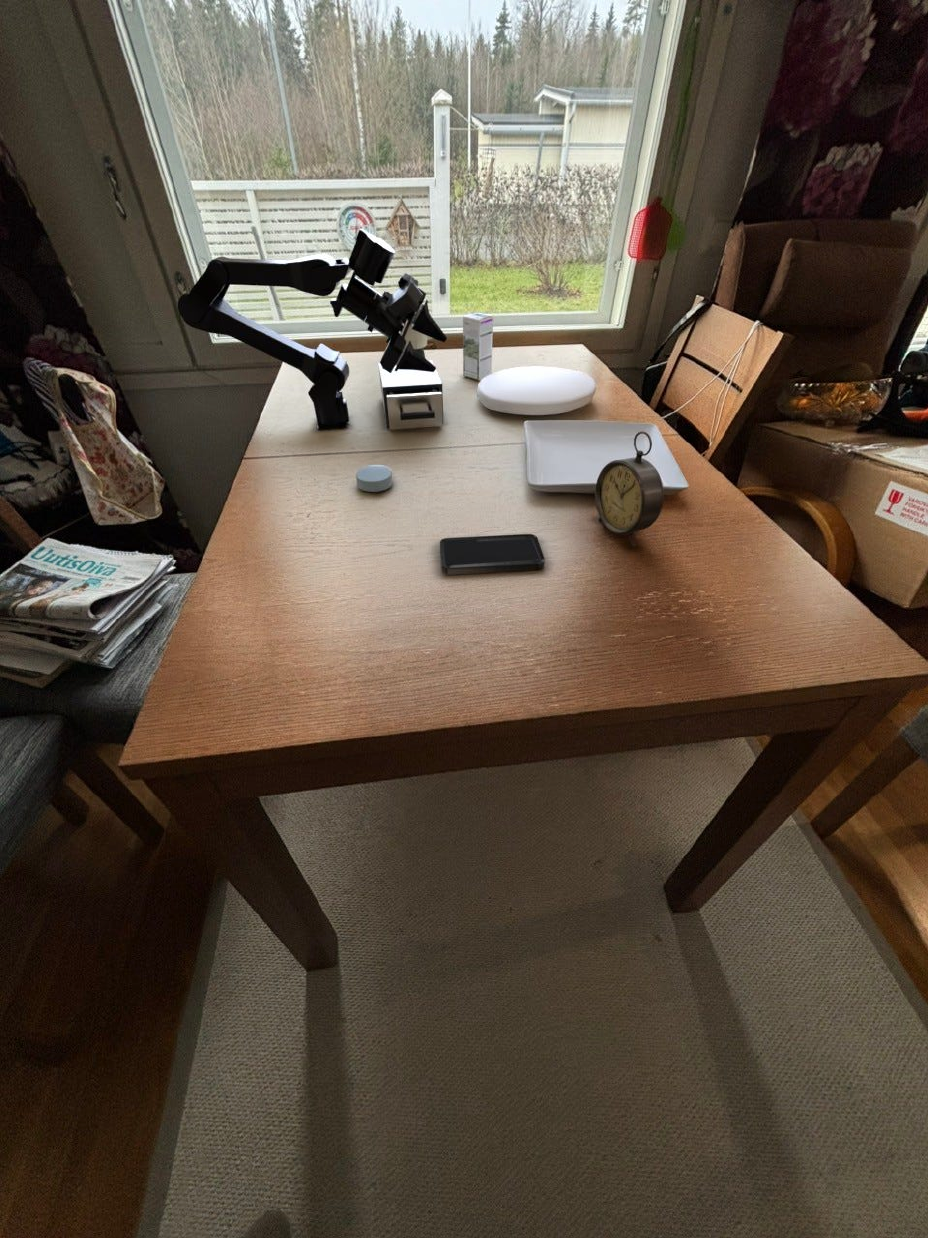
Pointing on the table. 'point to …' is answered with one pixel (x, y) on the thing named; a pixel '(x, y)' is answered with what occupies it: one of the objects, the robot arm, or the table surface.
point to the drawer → (414, 408)
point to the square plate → (592, 453)
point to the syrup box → (477, 345)
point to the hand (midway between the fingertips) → (440, 354)
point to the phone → (491, 554)
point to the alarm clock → (629, 494)
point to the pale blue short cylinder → (374, 478)
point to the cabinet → (407, 383)
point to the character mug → (416, 340)
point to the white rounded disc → (536, 390)
